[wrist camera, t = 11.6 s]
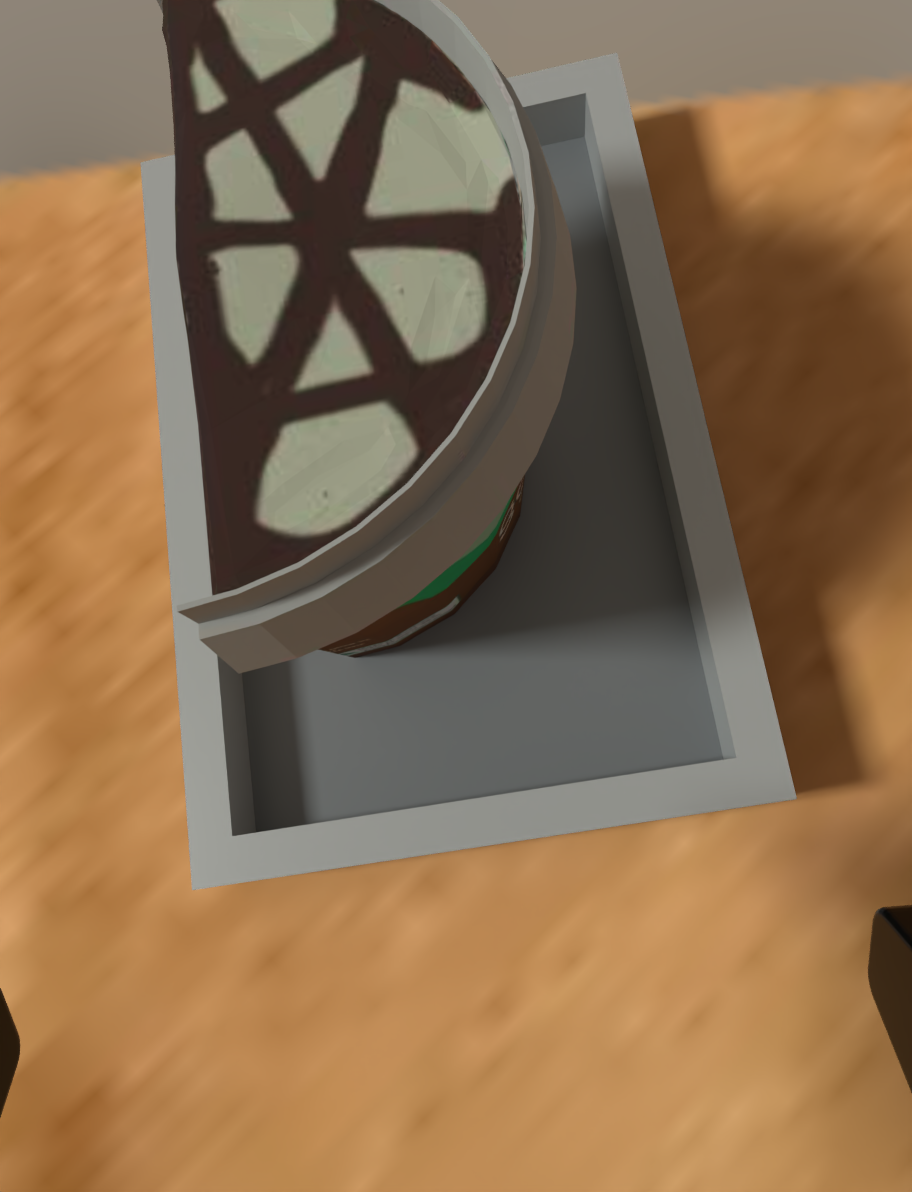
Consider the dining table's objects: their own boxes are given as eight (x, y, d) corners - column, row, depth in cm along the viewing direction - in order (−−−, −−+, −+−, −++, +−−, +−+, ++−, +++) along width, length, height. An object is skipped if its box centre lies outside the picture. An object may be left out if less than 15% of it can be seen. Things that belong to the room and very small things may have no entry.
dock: (612, 125, 25) (617, 52, 22) (768, 798, 20) (796, 799, 18) (180, 221, 26) (140, 162, 23) (235, 879, 21) (192, 890, 19)
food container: (616, 676, 20) (662, 566, 10) (362, 719, 21) (179, 651, 11) (528, 226, 23) (499, -185, 13) (307, 274, 24) (125, -89, 14)
